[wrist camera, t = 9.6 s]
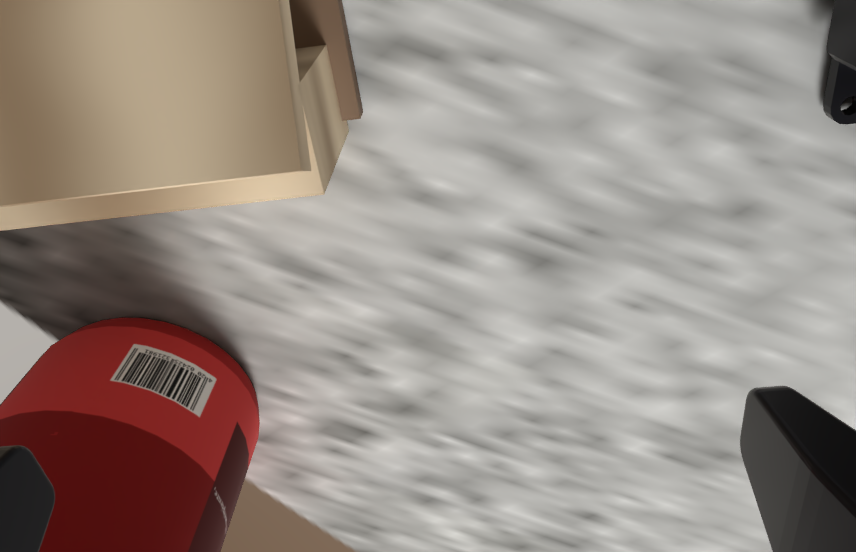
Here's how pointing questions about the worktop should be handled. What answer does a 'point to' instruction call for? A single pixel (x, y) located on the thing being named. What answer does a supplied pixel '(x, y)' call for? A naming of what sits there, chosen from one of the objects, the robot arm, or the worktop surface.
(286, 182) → the ramp
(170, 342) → the canned food
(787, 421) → the robot arm
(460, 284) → the worktop surface
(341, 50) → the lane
